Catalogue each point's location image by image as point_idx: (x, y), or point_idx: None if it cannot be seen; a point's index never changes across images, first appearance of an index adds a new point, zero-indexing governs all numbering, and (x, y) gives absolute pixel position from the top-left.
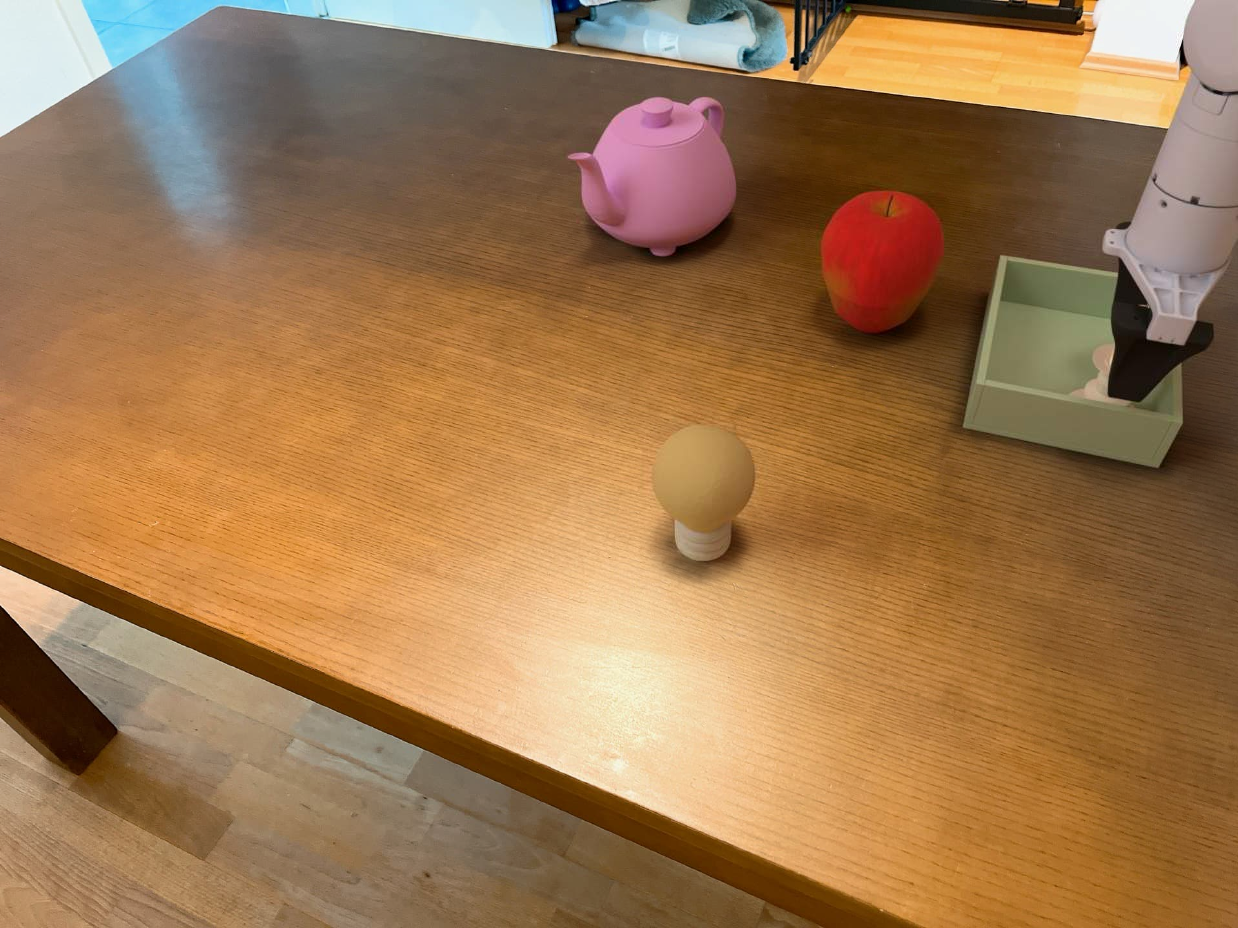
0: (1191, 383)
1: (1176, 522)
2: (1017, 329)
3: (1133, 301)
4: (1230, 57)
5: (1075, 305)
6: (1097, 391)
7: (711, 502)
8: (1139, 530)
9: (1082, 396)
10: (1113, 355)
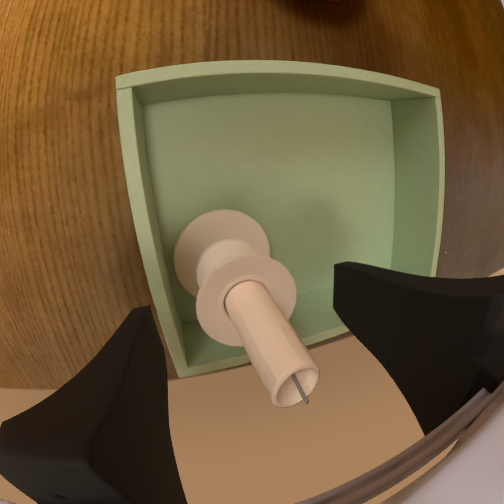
0: None
1: None
2: (352, 128)
3: (370, 306)
4: None
5: (402, 190)
6: (219, 261)
7: None
8: (78, 328)
9: (244, 231)
10: (125, 349)
